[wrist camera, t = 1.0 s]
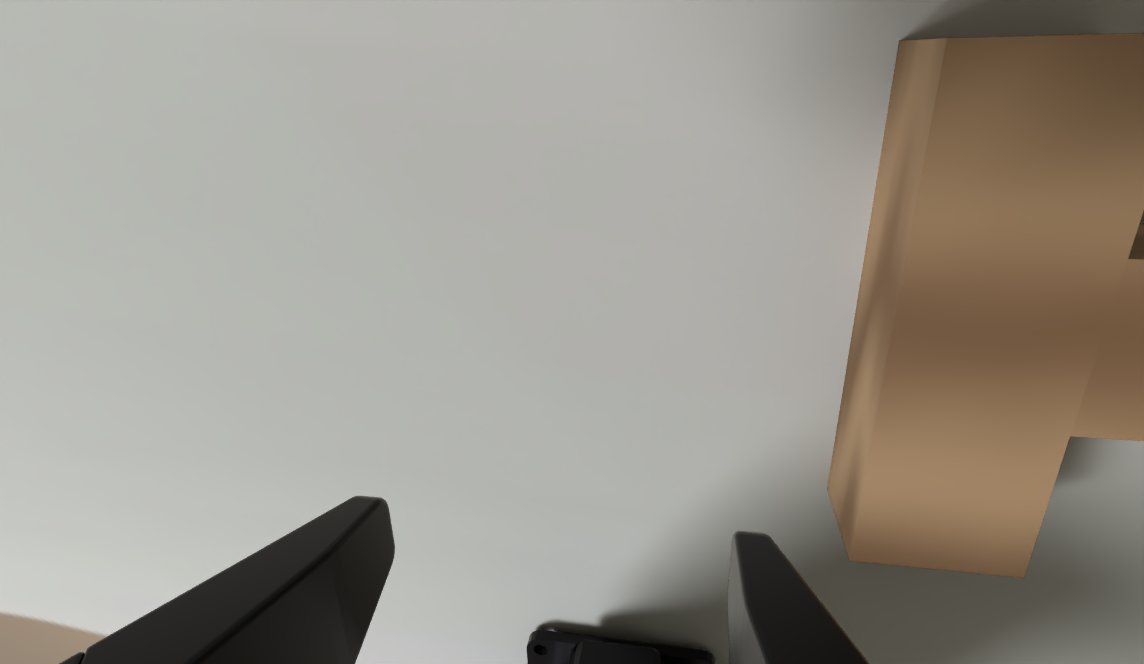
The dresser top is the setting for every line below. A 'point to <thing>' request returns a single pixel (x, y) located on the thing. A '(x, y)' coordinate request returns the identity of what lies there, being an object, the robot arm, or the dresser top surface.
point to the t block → (993, 296)
